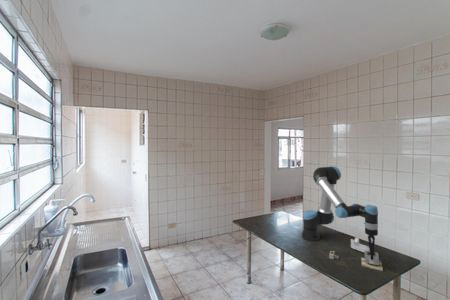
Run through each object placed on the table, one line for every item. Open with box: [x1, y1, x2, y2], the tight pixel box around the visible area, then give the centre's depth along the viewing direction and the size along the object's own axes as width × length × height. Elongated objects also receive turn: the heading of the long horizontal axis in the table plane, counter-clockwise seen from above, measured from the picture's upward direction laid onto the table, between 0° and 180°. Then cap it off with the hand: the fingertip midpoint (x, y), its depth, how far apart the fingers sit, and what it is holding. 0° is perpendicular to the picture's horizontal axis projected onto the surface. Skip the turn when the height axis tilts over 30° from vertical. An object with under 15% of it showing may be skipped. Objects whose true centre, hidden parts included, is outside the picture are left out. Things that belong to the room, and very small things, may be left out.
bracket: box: [350, 236, 369, 254], centre depth 184 cm, size 13×7×8 cm, turn 32°
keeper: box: [360, 257, 384, 272], centre depth 163 cm, size 12×12×7 cm
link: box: [364, 251, 380, 265], centre depth 163 cm, size 8×8×5 cm
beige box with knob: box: [328, 250, 336, 260], centre depth 176 cm, size 6×3×4 cm, turn 151°
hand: (371, 260), depth 163 cm, fingers closed on link, 8 cm apart
